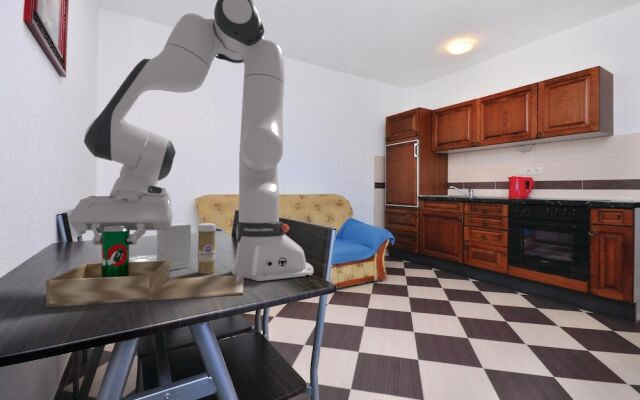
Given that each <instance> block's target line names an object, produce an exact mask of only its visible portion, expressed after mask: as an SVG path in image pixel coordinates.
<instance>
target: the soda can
mask: <svg viewBox="0 0 640 400" xmlns="http://www.w3.org/2000/svg"><path fill="white" fill-rule="evenodd" d="M130 231H131V230H129V229H128V226H127V225H109V226H104V229H103V230H102V231H101V233H100V234H101V245H100V246H101V247H100V256H101V257H100V263H101V278H106V277H128V276H129V262H130V245H129V244H128V243H127V238H128V235H129V234H131V233H130Z"/></svg>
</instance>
